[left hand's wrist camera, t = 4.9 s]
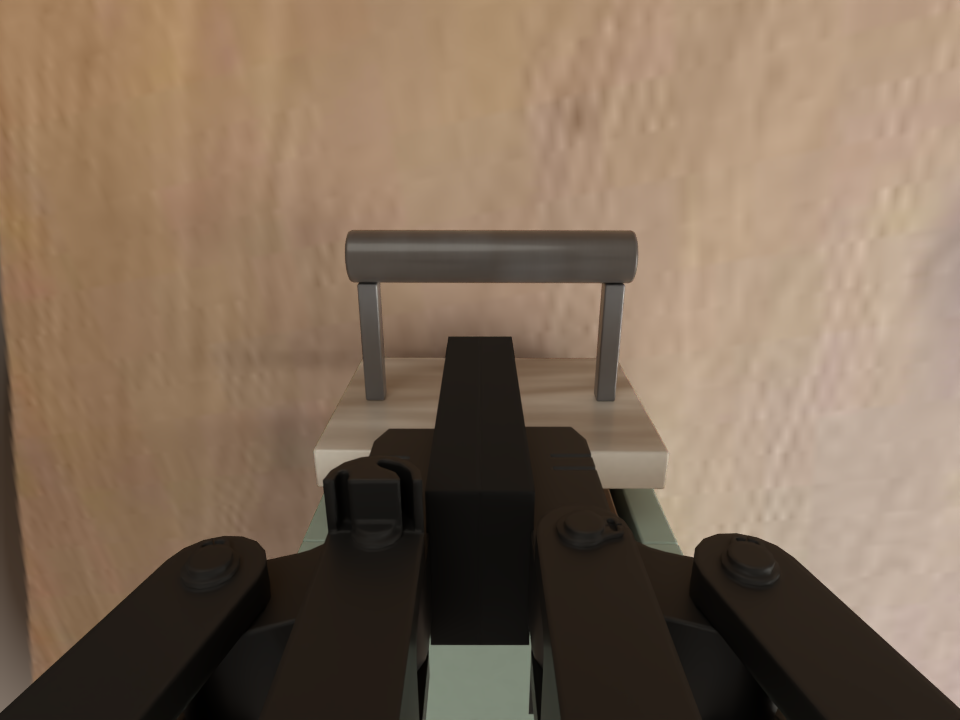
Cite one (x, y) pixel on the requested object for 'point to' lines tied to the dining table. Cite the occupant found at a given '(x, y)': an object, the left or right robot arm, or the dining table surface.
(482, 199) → the dining table surface
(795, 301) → the dining table surface
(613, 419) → the drawer
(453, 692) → the cabinet
